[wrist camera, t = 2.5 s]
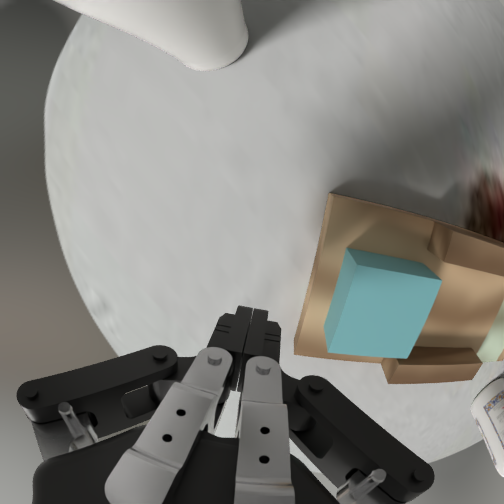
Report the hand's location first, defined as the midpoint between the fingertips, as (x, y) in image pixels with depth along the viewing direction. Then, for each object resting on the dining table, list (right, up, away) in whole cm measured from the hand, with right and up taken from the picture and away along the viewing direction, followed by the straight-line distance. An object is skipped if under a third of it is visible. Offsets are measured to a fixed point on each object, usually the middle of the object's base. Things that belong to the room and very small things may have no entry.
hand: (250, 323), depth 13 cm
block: (+9, 0, +4) cm, 9 cm away
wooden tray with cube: (+20, -1, +5) cm, 20 cm away
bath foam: (+33, -17, +9) cm, 38 cm away
